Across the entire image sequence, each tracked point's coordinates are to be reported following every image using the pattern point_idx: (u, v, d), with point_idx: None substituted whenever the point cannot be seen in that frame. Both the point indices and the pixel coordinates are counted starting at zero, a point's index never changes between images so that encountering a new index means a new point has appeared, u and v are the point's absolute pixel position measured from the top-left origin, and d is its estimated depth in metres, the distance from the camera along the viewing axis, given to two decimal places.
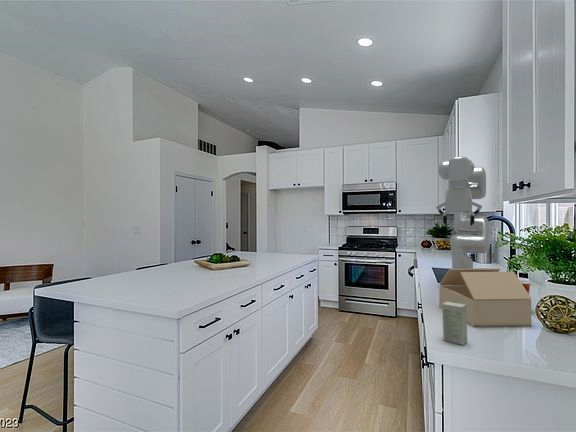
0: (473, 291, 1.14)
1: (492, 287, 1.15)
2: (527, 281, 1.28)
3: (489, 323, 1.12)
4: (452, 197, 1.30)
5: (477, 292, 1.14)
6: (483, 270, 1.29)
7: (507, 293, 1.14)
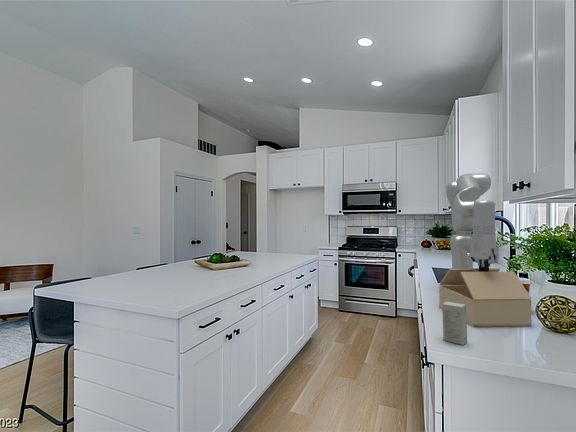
0: (473, 291, 1.14)
1: (492, 287, 1.15)
2: (527, 281, 1.28)
3: (489, 323, 1.12)
4: None
5: (477, 292, 1.14)
6: None
7: (507, 293, 1.14)
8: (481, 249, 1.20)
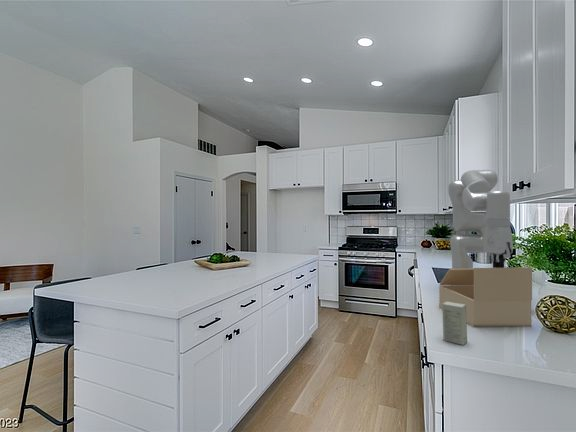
0: (477, 291, 1.12)
1: (499, 286, 1.12)
2: None
3: (489, 323, 1.12)
4: None
5: (481, 292, 1.12)
6: None
7: (511, 294, 1.12)
8: (496, 243, 1.12)
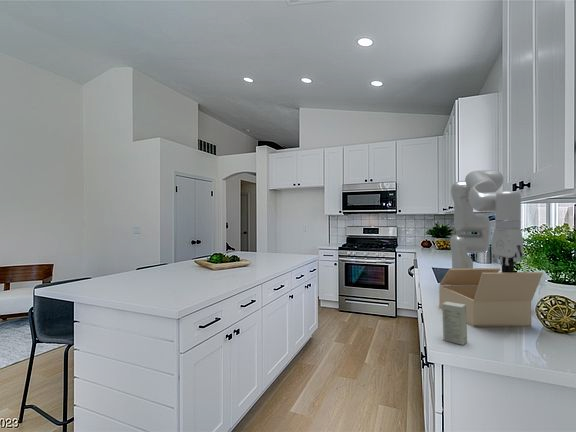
0: (479, 293, 1.10)
1: (503, 289, 1.10)
2: None
3: (489, 323, 1.12)
4: None
5: (483, 294, 1.11)
6: (483, 270, 1.29)
7: (512, 295, 1.11)
8: (505, 246, 1.07)
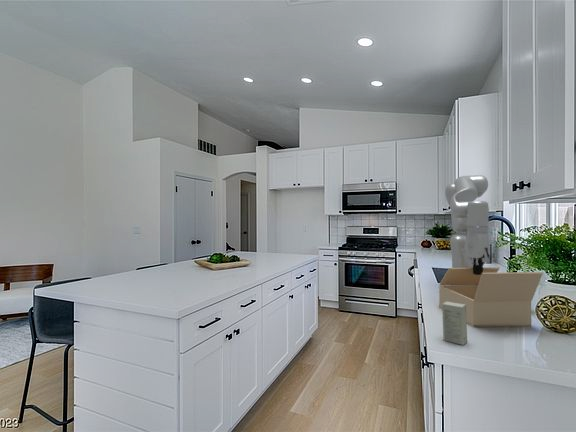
0: (479, 293, 1.10)
1: (503, 289, 1.10)
2: None
3: (489, 323, 1.12)
4: None
5: (483, 294, 1.11)
6: (483, 269, 1.29)
7: (512, 295, 1.11)
8: (475, 248, 1.24)
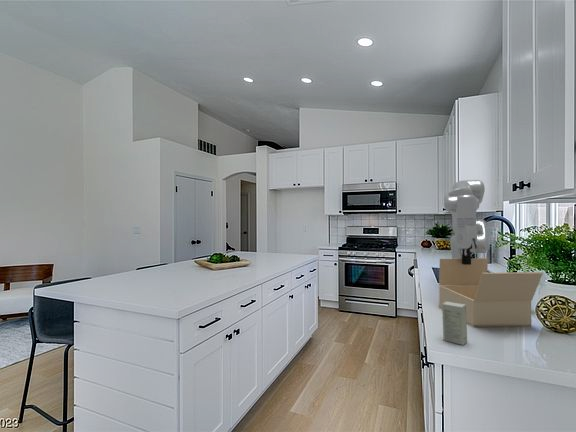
0: (479, 293, 1.10)
1: (503, 289, 1.10)
2: None
3: (489, 323, 1.12)
4: None
5: (483, 294, 1.11)
6: (473, 260, 1.36)
7: (512, 295, 1.11)
8: (464, 239, 1.31)
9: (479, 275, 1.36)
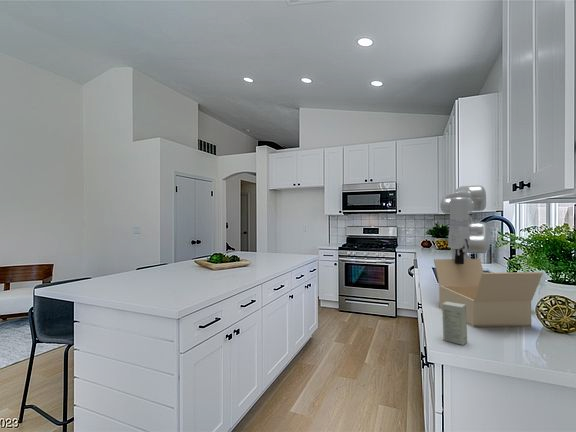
0: (479, 293, 1.10)
1: (503, 289, 1.10)
2: None
3: (489, 323, 1.12)
4: None
5: (483, 294, 1.11)
6: (466, 261, 1.41)
7: (512, 295, 1.11)
8: (456, 240, 1.37)
9: (476, 275, 1.38)
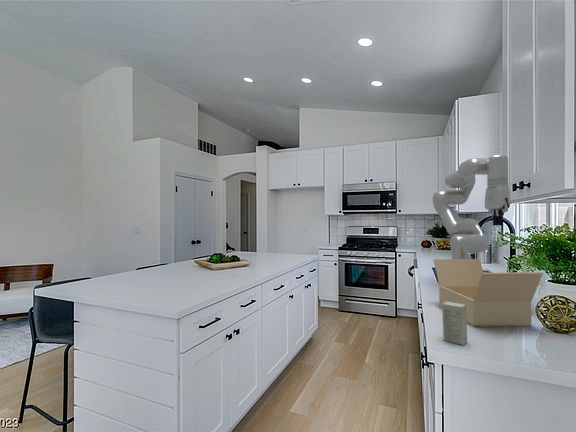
0: (479, 293, 1.10)
1: (503, 289, 1.10)
2: None
3: (489, 323, 1.12)
4: None
5: (483, 294, 1.11)
6: (466, 261, 1.41)
7: (512, 295, 1.11)
8: (495, 199, 1.30)
9: (476, 275, 1.38)
